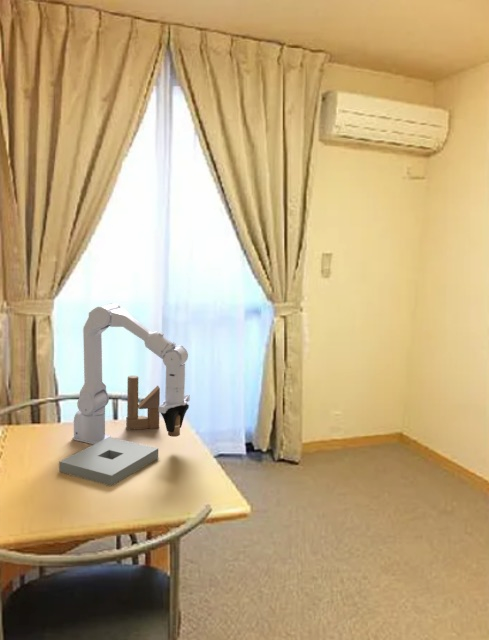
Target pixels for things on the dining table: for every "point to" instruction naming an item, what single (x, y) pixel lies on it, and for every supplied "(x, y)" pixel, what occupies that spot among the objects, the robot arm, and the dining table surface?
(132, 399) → the wooden block
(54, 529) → the dining table surface
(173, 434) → the peg
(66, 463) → the board
